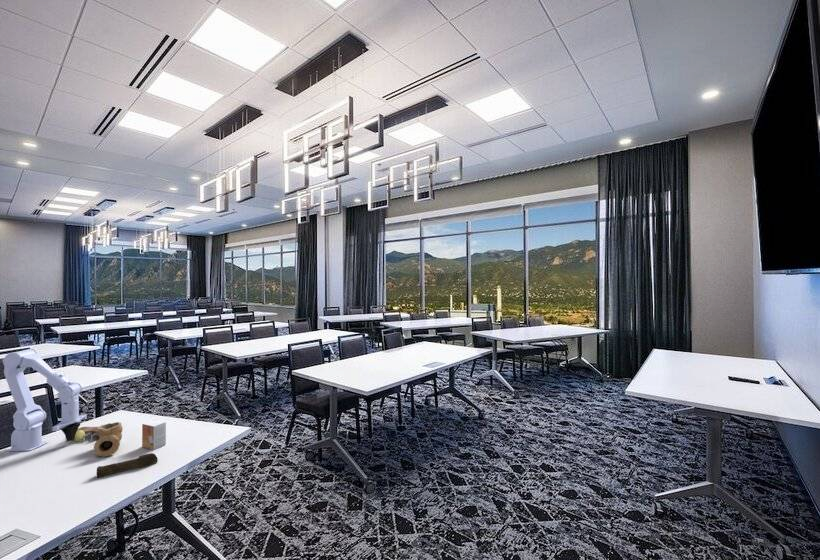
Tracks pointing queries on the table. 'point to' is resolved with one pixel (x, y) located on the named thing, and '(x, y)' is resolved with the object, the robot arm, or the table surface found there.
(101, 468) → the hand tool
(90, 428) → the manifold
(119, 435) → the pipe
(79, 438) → the knob
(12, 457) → the table surface
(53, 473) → the table surface
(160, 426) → the small box
